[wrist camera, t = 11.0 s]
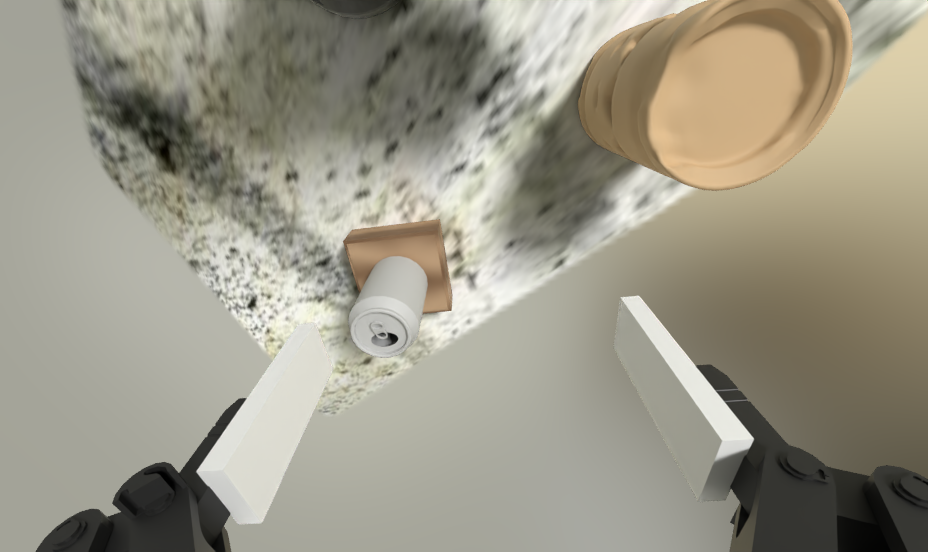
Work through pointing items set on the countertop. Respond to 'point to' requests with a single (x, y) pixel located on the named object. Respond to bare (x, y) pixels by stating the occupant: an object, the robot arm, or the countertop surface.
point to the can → (389, 307)
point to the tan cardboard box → (408, 242)
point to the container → (719, 88)
